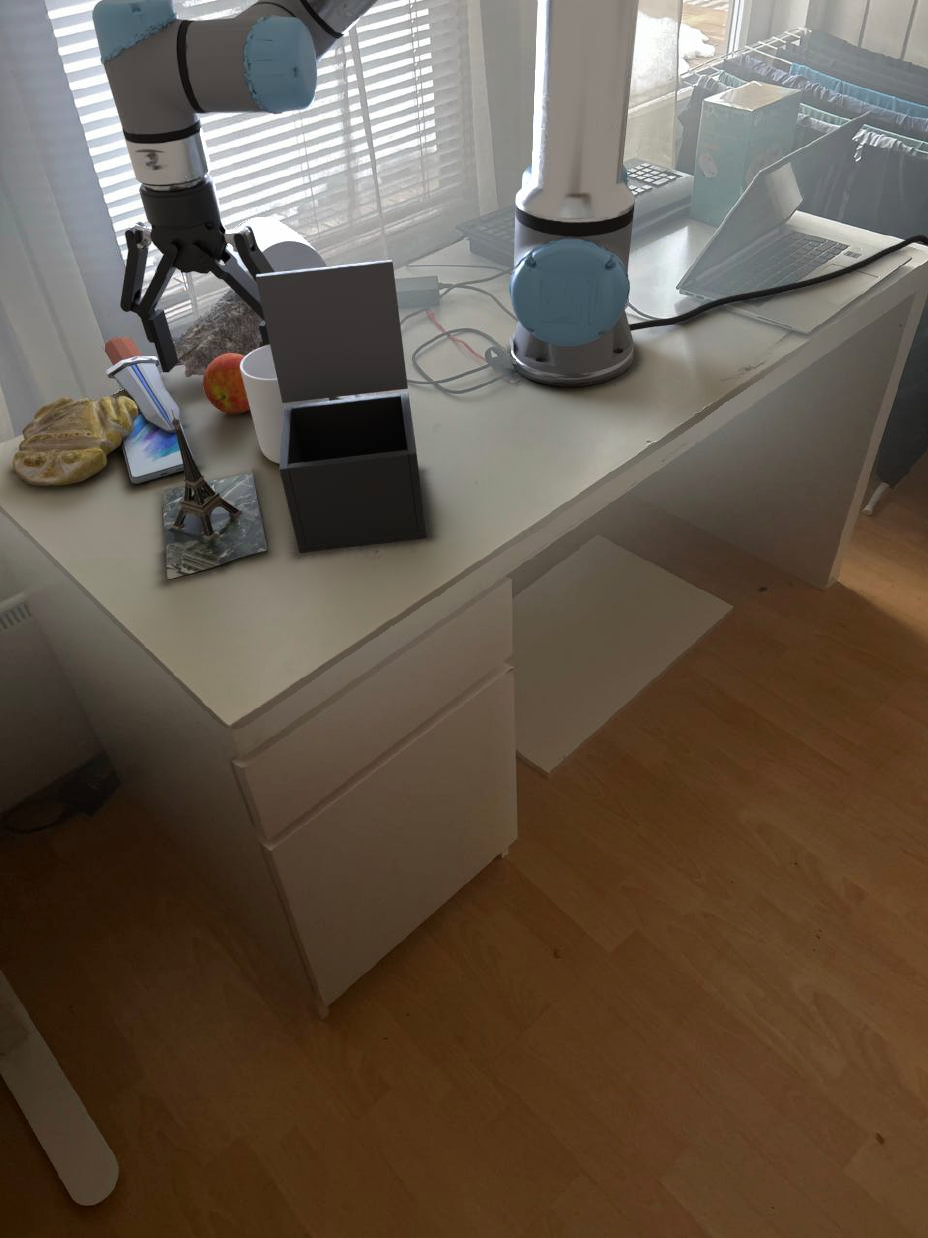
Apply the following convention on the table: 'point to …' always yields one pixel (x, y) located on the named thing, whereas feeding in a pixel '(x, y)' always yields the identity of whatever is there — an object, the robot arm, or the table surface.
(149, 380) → the dagger
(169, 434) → the smartphone
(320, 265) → the toilet paper
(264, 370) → the mug
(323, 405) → the open storage box
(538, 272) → the robot arm
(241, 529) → the eiffel tower figurine
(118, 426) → the sculpture
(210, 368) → the fruit
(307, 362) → the lid
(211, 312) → the rock
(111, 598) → the table surface
